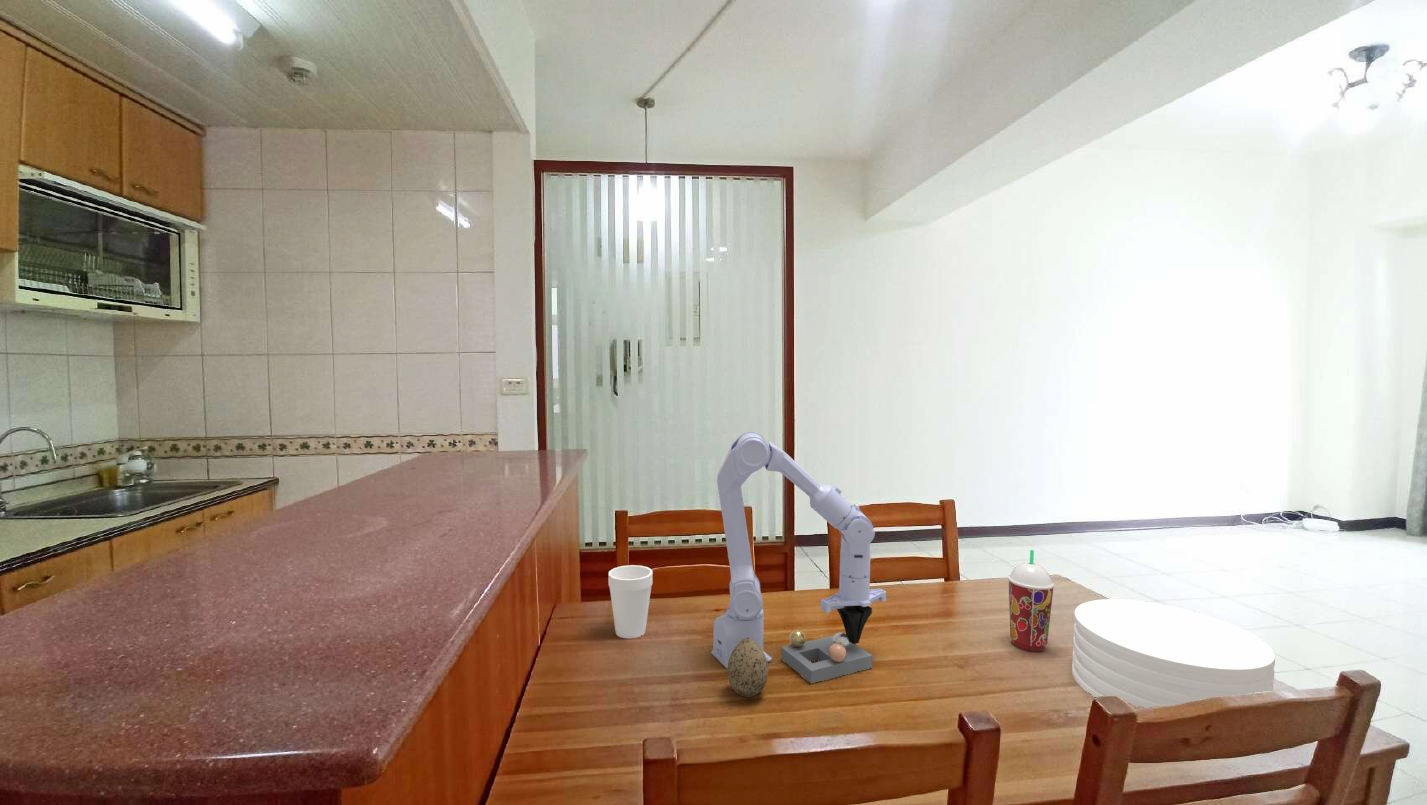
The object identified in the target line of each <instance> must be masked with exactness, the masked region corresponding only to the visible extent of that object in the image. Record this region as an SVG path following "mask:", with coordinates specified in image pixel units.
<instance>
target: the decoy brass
mask: <svg viewBox="0 0 1427 805" xmlns="http://www.w3.org/2000/svg"><path fill="white" fill-rule="evenodd" d="M788 638H789V643H790V644H791V645H793V646H795V647H801V646H803V645H804V644H805V642H807V638H806V634H805V633H804V632H803V631H802V630H801V629H795V630H792V631H791V632H790V634H789V637H788Z"/></svg>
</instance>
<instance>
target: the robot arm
mask: <svg viewBox="0 0 1427 805" xmlns="http://www.w3.org/2000/svg"><path fill="white" fill-rule="evenodd" d="M719 468H720V469H719V470H718V473H717V475H716V476H717V477H716V482H717V488H718V495H719V501H720V502H719V503H720V510H721V516H722V517H721V518H722V522H723V529H724V531H723V532H724V537H725V544H726V549H727V557H728V561H729V571H730V581H729V584H728V586H729V588H728V589H729V605H727V608H726V612H724V613H723V614H722V615H719V616H717V617H716V618H714V621H713V629H712V630H713V633H712V634H713V636H712V638H713V639H712V640H713V641H712V642H713V643H712V644H713V646H712V650H711V654H712V655H713V656H714V657H715V658H716V659H717V661H719V662H720V663H721V664H722V665H723V666H724V667H725V668H726V669H727V666H728V661H729V658H730V655H731V653H732V651H733V649H734V648H735V647H736V645H737V644H738V643H739V642H740V641H741V640H743V639H744V638H751V639H753V640H754V641H755V642H756V643H757V644H758V645H759V646H760V647H761V649H762V650H763V652H764V654H765V656H766V659H767V663H768V662H772V659H773V658H772V656H770V655H769V654H768V653H766V652H765V651H764V621H765V620H764V615H765V614H764V612H765V611H764V609H763V607H764V601H763V600H764V599H763V596H762V592H761V582H760V580H759V578H758V577H757V575H756V574H755V572H754V567H753V560H752V554H751V547H750V545H751V544H750V539H749V534H748V527H747V526H748V525H747V519H746V513H745V511H746V510H745V506H744V500H743V499H744V498H743V492H742V486H743V484H744V483H745V482H746V481H747V479H749V477H750V476H751V475H752V474H753V473H755V472H758V471H759V470H761V469H762V468H765V470H766V471H767V472H778V473H780V474H782V475H783V476H784V477H786V479H788V480H789V481H790V482H791V483H793V485H795V486H796V487H797V488H798V489H799V490H801V491H802V492H803V493H805V494H806V495H807V496H808V497H809V506H810V508H811V509H812V510H814V511H815V513H817V514H818V515H819V516H820V517H822V518H823V520H824V521H826V522H827V523H828V524H829V525H831V526H832V527H833V528H834V529H837V530H838V531H839V533H840V534H842V535H841V537H840V549H839V550H840V551H839V552H840V553H839V555H840V556H839V583H838V584H839V588H838V589H839V590H838V592H837V593H835V594H833V595H831V596H829V597H826V598H822V599H820V610H821V611H823V612H824V613H826V614H829V613H831V612H832V611H835V610H836V611H837V612H838V614H839V616H840V619H841V622H842V623H843V624H842V625H843V627H844V631H845V634H846V635H847V636H848V638H849V642H851V643H852V644H856V645H857V644H860V640H861V636H862V633H863V630H864V628H865V625H866V623H867V621H868V619H869V618H870V616H872V614H873V608H872V607H871V606H872V603H874V602H875V603H876V602H879V601H880V602H881V603H882V602H886V601H887V591H886V590H884V589H882V588H871V589H870V587H871V586H870V582H871V581H870V580H871V578H870V577H871V543H872V542H873V540H874V538H875V536H876V535H875V534H876V531H875V530H874V525H873V523H872V521H871V520H870V519H869V518H868V517H867V516H866V515H865V514H864V513H863V512H862V510H861V509H860V507H859V506H858V505H857V504H856V503H854V504H852V503H851V502H850V501H849V500H848V499H847V498H845V497H844V496H843V494H841V493H842V490H841V489H840V488H839V487H838V486H837V485H836V486H834V487H833V485H831V484H820V483H819V482H818V481H817V480H815V478H813V477H812V476H811V475H810V474H809V473H808V472H807V471H806V470H805V469H803V467H802V466H801V465H799V464H798V463H797V462H796V461H795V460H794V459H793V458H792V457H791V456H790V455H789V454H788V453H786V451H785V450H783V449H782V448H780V447H779V446H777V445H776V444H775V443H773V442H771V441H770V440H767V441H766V439H765V438H764V437H763V435H762V434H760V433H759V432H756V431H746V432H744V433H742V434H741V435H739V437H738V438H736V439H735V440H734V441H733V443H732V444H731V445H730V448H729V449H728V452H727V454H726V456H725V458H724V460H723V462H722V465H721V466H720V467H719Z"/></svg>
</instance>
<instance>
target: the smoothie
mask: <svg viewBox="0 0 1427 805" xmlns="http://www.w3.org/2000/svg"><path fill="white" fill-rule="evenodd" d="M1034 554H1035V550H1033V549H1030V550H1029V562H1024V563H1020V564H1017V565H1016V567H1014V568H1013V569H1012V571H1011V574H1010V575H1008V577H1007V579H1008V600H1009V601H1008V602H1009V603H1008V604H1009V605H1008V606H1009V608H1008V609H1009V635H1010V636H1009V637H1010V638H1011V639H1012V644H1014V645H1015V647H1018V648H1019V649H1022V650H1025V651H1030V652H1040V651H1043V650H1044V649H1045V646H1046V645H1047V644H1048V640H1049V639H1048V638H1049V630H1050V621H1051V613H1052V612H1051V611H1052V603H1053V596H1054V588H1055V582H1054V581H1053V580H1052V577H1051V575H1050V573H1049V572H1048V571H1047V570H1046V569H1045V568H1044V567H1043V566H1041V565H1039V564H1038V563H1035V562H1034Z"/></svg>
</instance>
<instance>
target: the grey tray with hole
mask: <svg viewBox="0 0 1427 805" xmlns="http://www.w3.org/2000/svg"><path fill="white" fill-rule="evenodd" d="M834 635H835V634H833V635H830V636H825V637H821V638H817V639H812V640H808V641H807V640H806V642H805V644H804V645H803V646H801V647H795V646H793V645H792V644H791V645H786V646H782V647H781V657H780V658H781V659H782V660H784V661H785V662H786V663H787V664H788V665H790V666H791V667H792V668H793V669H794V670H796V671H797V672H798V673H799V674H800V675H802V676H803V677H804V678H805V679H806V680H807V681H806V680H805V679H804V678H803V677H802V676H801V677H802V678H803V679H804V680H805V681H806V682H808V681H809V682H810V683H814V684H816V683H815V682H818V681H822V682H825V681H824V680H826V681H828V680H827V679H830V680H832V679H831V678H833V679H836V678H835V677H837V678H839V677H838V676H841V675H845V676H848V675H852V674H855V673H854V672H856V673H858V672H857V671H860V670H864V671H867V670H870V668H871V669H873V657H874V656H873V654H872V653H870V652H868V651H867V650H865V649H864V648H862V647H860V646H858V645H857V644H852V643H851V642H849V646H848V647H847V648H846V649H845V650H846V657H845V659H844V660H843V661H841V662H835V661H833V660H832V659H831V658H830V656H829V648H830V647H831V645H833V637H834ZM782 660H781V661H782ZM814 660H819V661H814ZM784 661H783V662H784ZM810 661H814V662H810ZM785 662H784V663H785ZM786 663H785V664H786ZM787 664H786V665H787ZM788 665H787V666H788ZM790 666H789V667H790ZM791 667H790V668H791ZM792 668H791V669H792ZM793 669H792V670H793ZM794 670H793V671H794ZM796 671H795V672H796ZM797 672H796V673H797ZM860 672H861V671H860ZM798 673H797V674H798ZM851 673H852V674H851ZM799 674H798V675H799ZM847 674H848V675H847ZM800 675H799V676H800ZM841 677H842V676H841ZM809 682H808V683H809ZM810 683H809V684H810ZM818 683H819V682H818Z"/></svg>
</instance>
